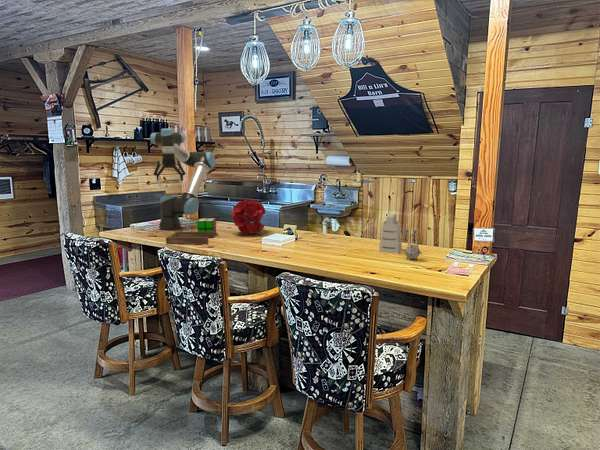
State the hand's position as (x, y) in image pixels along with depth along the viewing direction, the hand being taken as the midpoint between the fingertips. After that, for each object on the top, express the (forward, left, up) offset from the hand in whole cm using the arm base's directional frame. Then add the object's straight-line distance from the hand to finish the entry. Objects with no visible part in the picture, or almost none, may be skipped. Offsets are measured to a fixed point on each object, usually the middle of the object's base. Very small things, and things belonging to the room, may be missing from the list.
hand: (170, 186), depth 280 cm
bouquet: (-1, +52, -32) cm, 61 cm away
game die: (+70, +141, -32) cm, 161 cm away
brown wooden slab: (+23, +18, -32) cm, 43 cm away
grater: (+51, +134, -32) cm, 147 cm away
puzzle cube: (+6, +24, -31) cm, 40 cm away
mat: (+7, +24, -32) cm, 40 cm away
